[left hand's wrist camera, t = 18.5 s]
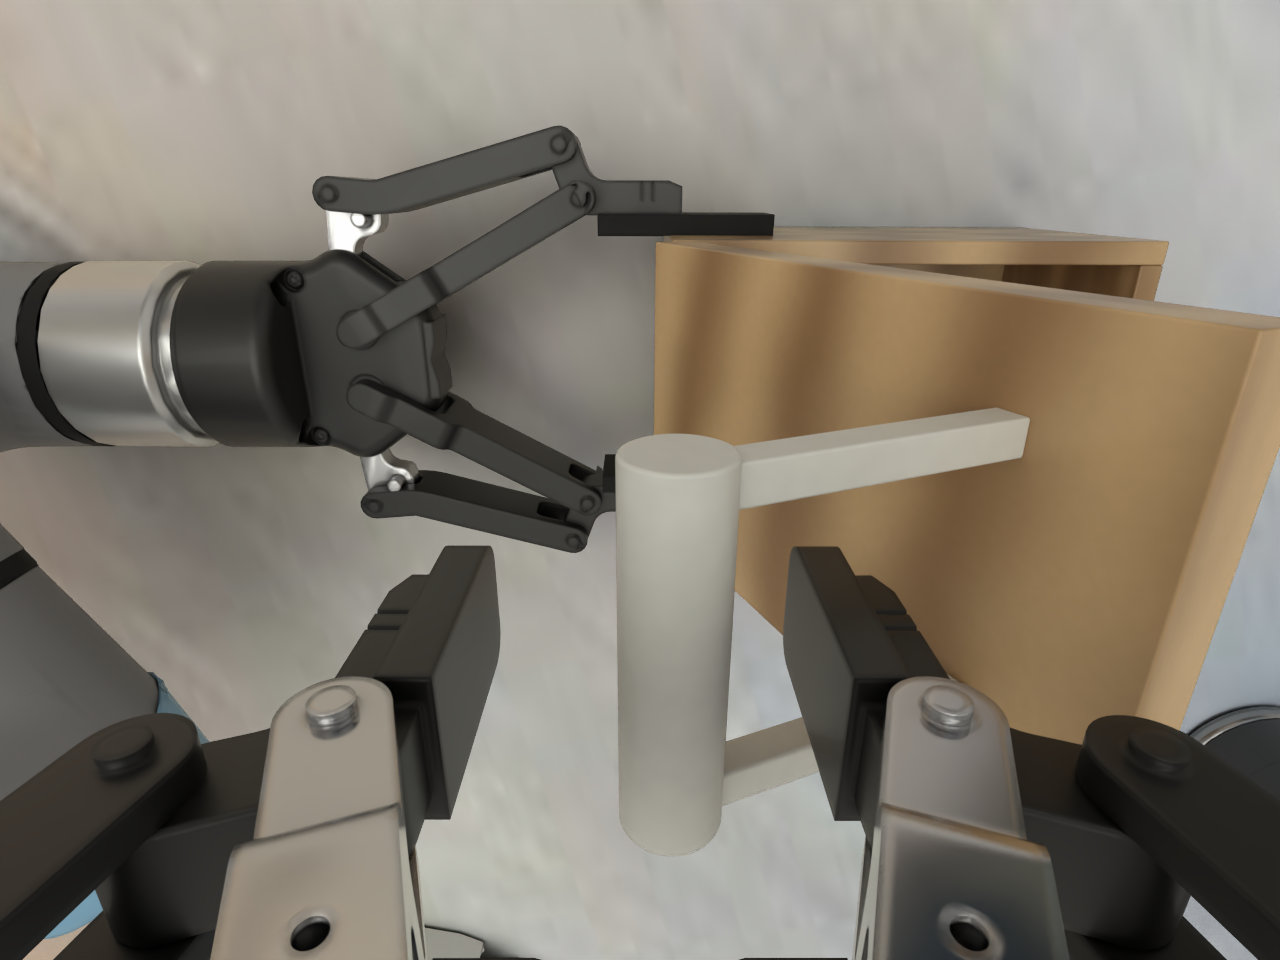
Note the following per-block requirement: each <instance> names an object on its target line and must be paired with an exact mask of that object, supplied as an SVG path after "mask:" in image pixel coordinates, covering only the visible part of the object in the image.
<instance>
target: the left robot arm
mask: <svg viewBox="0 0 1280 960" xmlns="http://www.w3.org/2000/svg"><path fill="white" fill-rule="evenodd" d="M783 645H784V655H785V661H786V665H787V668H788V672H789V675H790V678H791V681H792V684H793V688H794V691H795V694H796V697H797V701H798V704H799V707H800V710H801V714H802V717H803V720H804V723H805V726H806V730H807V733H808V736H809V739H810V743H811V746H812V749H813V752H814V756H815V759H816V762H817V765H818V768H819V772H820V775H821V778H822V781H823V785H824V788H825V791H826V794H827V798H828V801H829V804H830V807H831V810H832V814H833V817H834V820H835V821H861V823H862V826H863V829H864V831H865V834H866V838H865V844H864V850H863V857H862V865H861V875H860V886H859V896H858V906H857V917H856V927H855V937H854V948H853V958H852V960H1227V959H1226V958H1225V957H1224V956H1223V955H1222V954H1221V953H1220V952H1219V951H1218V950H1216V949H1215V948H1214V947H1213V946H1212V945H1211V944H1210V943H1209V942H1208V941H1207V940H1206V939H1205V938H1204V937H1203V936H1202V935H1201V934H1200V933H1199V932H1198V931H1197V930H1196V929H1195V928H1194V927H1193V926H1192V925H1191V924H1190V923H1189V922H1188V921H1187V920H1186V919H1185V918H1184V917H1183V914H1184V911H1185V909H1186V906H1187V904H1188V901H1189V899H1190V896H1192V897H1193V898H1194V899H1195V900H1196V901H1197V902H1198V903H1199V904H1201V905H1202V906H1203V907H1204V908H1205V909H1206V910H1207V911H1208V912H1209V913H1210V914H1211V915H1212V916H1213V917H1214V918H1215V919H1216V920H1217V921H1218V922H1219V923H1220V924H1221V925H1222V926H1224V927H1225V928H1226V929H1227V930H1228V931H1229V932H1230V933H1231V934H1232V935H1233V936H1234V937H1235V938H1236V939H1237V940H1238V941H1239V942H1240V943H1241V944H1242V945H1243V946H1244V947H1245V948H1247V949H1248V950H1249V951H1250V952H1251V953H1252V954H1253V955H1254V956H1255V957H1256V958H1257V959H1258V960H1280V707H1266V706H1264V707H1252V708H1246V709H1241V710H1237V711H1234V712H1231V713H1228V714H1225V715H1223V716H1220V717H1218V718H1216V719H1214V720H1212V721H1210V722H1208V723H1207V724H1205V725H1203V726H1202V727H1200V728H1199V729H1197V730H1196V731H1195V732H1194V733H1192V734H1191V735H1190V736H1189V735H1187V734H1185V733H1183V732H1181V731H1179V730H1177V729H1175V728H1173V727H1170V726H1167V725H1165V724H1162V723H1159V722H1156V721H1153V720H1149V719H1145V718H1141V717H1136V716H1128V715H1111V716H1104V717H1101V718H1098V719H1096V720H1094V721H1092V722H1091V723H1090V724H1089V726H1088V728H1087V730H1086V733H1085V736H1084V739H1083V743H1082V745H1081V744H1076V743H1072V742H1067V741H1062V740H1058V739H1053V738H1048V737H1044V736H1039V735H1034V734H1030V733H1026V732H1022V731H1019V730H1016V729H1013V728H1010V727H1009V723H1008V720H1007V717H1006V716H1005V714H1004V712H1003V711H1002V710H1001V708H1000V707H999V706H998V705H997V704H996V703H995V702H994V701H993V700H992V699H990V698H989V697H988V696H986V695H985V694H983V693H982V692H980V691H978V690H976V689H975V688H972V687H970V686H968V685H966V684H963V683H960V682H957V681H954V680H950V678H949V676H948V675H947V673H946V672H945V670H944V669H943V667H942V665H941V664H940V662H939V661H938V659H937V658H936V656H935V654H934V653H933V651H932V650H931V648H930V647H929V645H928V643H927V642H926V640H925V639H924V637H923V636H922V634H921V632H920V631H917V626H916V625H915V623H914V621H913V620H912V618H911V617H910V615H907V610H906V609H905V607H904V606H903V604H902V603H901V601H900V599H899V598H898V596H897V595H896V593H895V592H894V591H893V590H891V589H890V588H889V587H887V586H886V585H884V584H883V583H882V582H880V581H879V580H877V579H876V578H875V577H873V576H872V575H855V574H854V572H853V571H852V569H851V567H850V565H849V563H848V562H847V560H846V558H845V556H844V555H843V553H842V551H841V549H840V548H839V547H837V546H794V547H793V548H792V550H791V553H790V558H789V568H788V579H787V591H786V602H785V614H784V625H783ZM499 650H500V619H499V607H498V595H497V584H496V572H495V561H494V554H493V550H492V548H491V546H445V547H444V549H443V550H442V552H441V554H440V556H439V558H438V559H437V561H436V563H435V565H434V567H433V568H432V570H431V572H430V574H429V575H411V576H410V577H409V578H407V579H406V580H404V581H403V582H402V583H400V584H399V585H397V586H396V587H395V588H393V589H392V590H390V591H389V593H388V594H387V596H386V597H385V599H384V601H383V602H382V604H381V605H380V607H379V609H378V613H377V614H375V615H374V617H373V618H372V620H371V621H370V623H369V625H368V630H365V631H364V633H363V634H362V636H361V637H360V639H359V641H358V642H357V644H356V645H355V647H354V649H353V650H352V652H351V653H350V655H349V656H348V658H347V660H346V661H345V663H344V664H343V666H342V668H341V669H340V671H339V672H338V674H337V676H336V677H335V678H334V679H330V680H326V681H323V682H320V683H317V684H314V685H312V686H310V687H308V688H305V689H304V690H302V691H300V692H298V693H297V694H295V695H294V696H292V697H291V698H290V699H288V700H287V701H286V702H285V703H284V704H283V705H282V706H281V707H280V708H279V710H278V711H277V712H276V714H275V716H274V717H273V720H272V723H271V728H269V729H266V730H262V731H258V732H255V733H250V734H246V735H241V736H236V737H232V738H227V739H222V740H218V741H213V742H208V743H204V744H201V742H200V739H199V735H198V732H197V729H196V726H195V724H194V723H193V722H192V721H191V720H190V719H189V718H187V717H185V716H182V715H179V714H173V713H154V714H146V715H142V716H137V717H133V718H130V719H126V720H123V721H120V722H118V723H115V724H112V725H110V726H108V727H106V728H104V729H101V730H99V731H98V732H96V733H94V734H92V735H90V736H89V737H87V738H86V739H84V740H83V741H81V742H80V743H78V744H77V745H75V746H74V747H73V748H71V749H70V750H69V751H67V752H66V753H65V754H63V755H62V756H60V757H59V758H58V759H56V760H55V761H54V762H52V763H51V764H50V765H48V766H47V767H46V768H44V769H43V770H42V771H40V772H39V773H37V774H36V775H35V776H33V777H32V778H31V779H29V780H28V781H27V782H25V783H24V784H23V785H21V786H20V787H19V788H17V789H16V790H14V791H13V792H12V793H10V794H9V795H8V796H6V797H5V798H4V799H2V800H1V801H0V960H23V958H24V957H25V956H26V955H27V954H28V953H29V952H30V951H31V950H32V949H34V948H35V947H36V946H37V945H38V944H39V943H40V942H41V941H42V940H43V939H44V938H45V937H46V936H47V935H48V934H49V933H50V932H51V931H52V930H53V929H54V928H55V927H57V926H58V925H59V924H60V923H61V922H62V921H63V920H64V919H65V918H66V917H67V916H68V915H69V914H70V913H71V912H72V911H73V910H74V909H75V908H76V907H77V906H78V905H80V904H81V903H82V902H83V901H84V900H85V899H86V898H87V897H88V896H89V895H90V894H91V893H92V892H93V891H94V890H95V891H96V894H97V896H98V899H99V901H100V904H101V906H102V909H103V911H102V912H101V913H100V914H99V915H98V916H97V917H96V918H95V919H94V920H93V921H92V922H91V923H90V924H89V925H88V926H87V927H86V928H85V929H84V930H83V931H82V932H81V933H80V934H79V935H78V936H77V937H76V938H75V939H74V940H73V941H72V942H71V943H70V944H69V945H68V946H67V947H66V948H65V949H64V950H63V951H62V952H61V953H60V954H58V955H57V956H56V957H55V958H54V959H53V960H428V958H427V948H426V937H425V927H424V917H423V906H422V896H421V886H420V875H419V865H418V857H417V850H416V842H417V840H418V837H419V834H420V831H421V828H422V825H423V822H424V819H450V818H451V815H452V812H453V808H454V805H455V802H456V798H457V795H458V792H459V789H460V785H461V782H462V779H463V775H464V772H465V769H466V765H467V762H468V759H469V755H470V752H471V749H472V746H473V742H474V739H475V736H476V732H477V729H478V726H479V722H480V719H481V716H482V712H483V709H484V706H485V703H486V699H487V696H488V693H489V689H490V686H491V683H492V679H493V676H494V673H495V670H496V666H497V662H498V657H499ZM432 960H540V959H536V958H433V959H432ZM740 960H848V959H847V958H744V959H740Z"/></svg>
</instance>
